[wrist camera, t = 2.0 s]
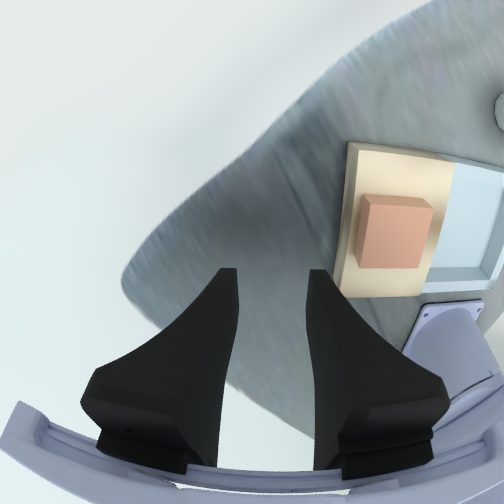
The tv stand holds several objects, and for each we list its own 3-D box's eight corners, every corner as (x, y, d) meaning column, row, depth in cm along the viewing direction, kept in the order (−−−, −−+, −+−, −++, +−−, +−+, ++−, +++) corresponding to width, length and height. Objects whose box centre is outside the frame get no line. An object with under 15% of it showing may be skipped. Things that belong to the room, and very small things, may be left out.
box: (481, 274, 20) (492, 288, 18) (408, 275, 21) (418, 293, 19) (512, 170, 15) (529, 180, 13) (436, 152, 15) (453, 161, 14)
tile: (409, 255, 17) (417, 268, 16) (353, 254, 17) (359, 268, 16) (423, 198, 15) (433, 208, 14) (363, 193, 15) (370, 204, 14)
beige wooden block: (408, 275, 21) (419, 295, 19) (333, 276, 21) (338, 297, 19) (436, 152, 15) (455, 163, 13) (347, 141, 16) (358, 150, 14)
